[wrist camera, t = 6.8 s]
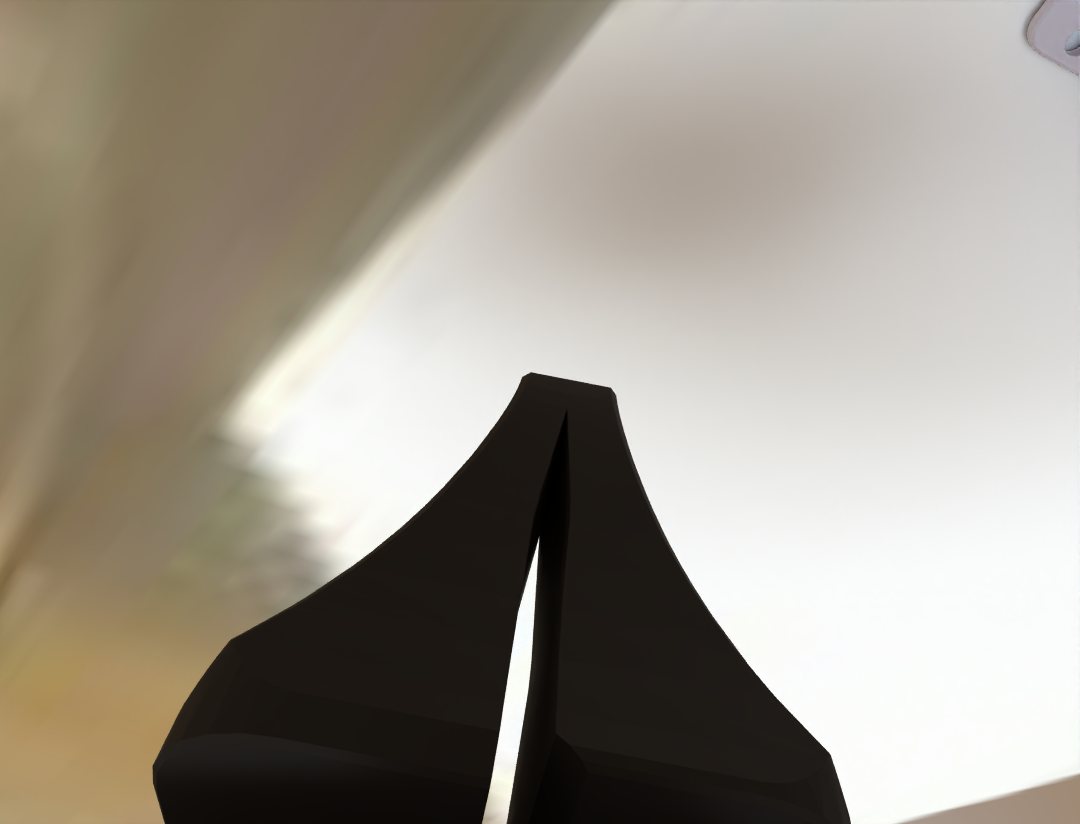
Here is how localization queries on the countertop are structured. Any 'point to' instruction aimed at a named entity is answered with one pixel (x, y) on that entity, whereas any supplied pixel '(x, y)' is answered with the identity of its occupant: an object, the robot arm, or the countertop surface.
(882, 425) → the countertop surface
